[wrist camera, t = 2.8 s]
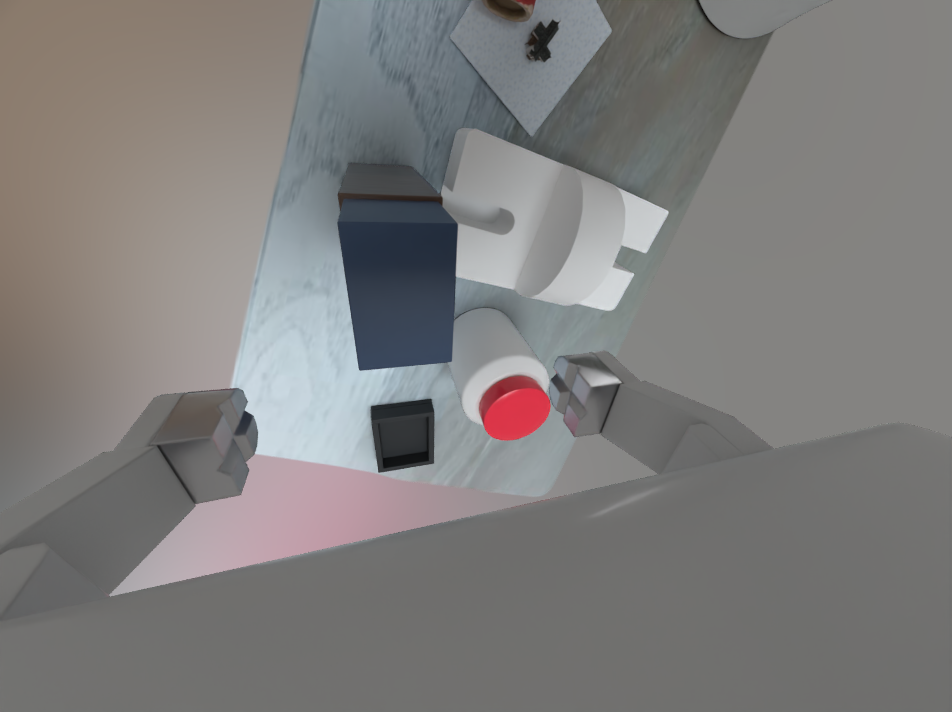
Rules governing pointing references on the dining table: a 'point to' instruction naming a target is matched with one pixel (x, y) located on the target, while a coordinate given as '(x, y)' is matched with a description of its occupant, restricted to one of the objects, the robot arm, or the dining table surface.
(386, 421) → the dark rectangular tray
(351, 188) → the dark brown tall block
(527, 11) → the dynamite stick
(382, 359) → the dark blue rectangular block
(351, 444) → the dining table surface
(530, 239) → the slotted mounting bracket
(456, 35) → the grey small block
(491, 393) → the pill bottle
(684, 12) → the dining table surface
